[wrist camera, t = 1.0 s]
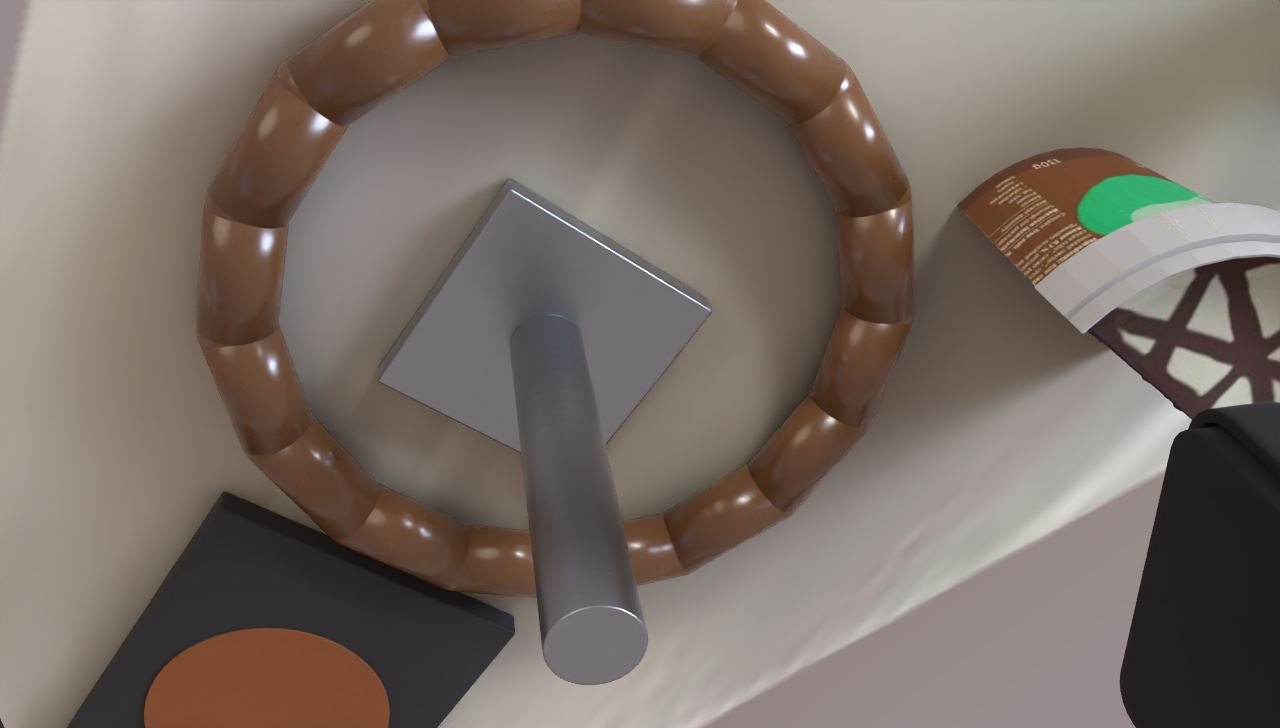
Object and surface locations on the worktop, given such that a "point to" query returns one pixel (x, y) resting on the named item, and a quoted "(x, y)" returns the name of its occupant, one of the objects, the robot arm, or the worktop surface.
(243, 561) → the burner mat
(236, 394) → the ring
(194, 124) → the worktop surface
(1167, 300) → the food container
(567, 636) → the hanger
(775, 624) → the worktop surface
